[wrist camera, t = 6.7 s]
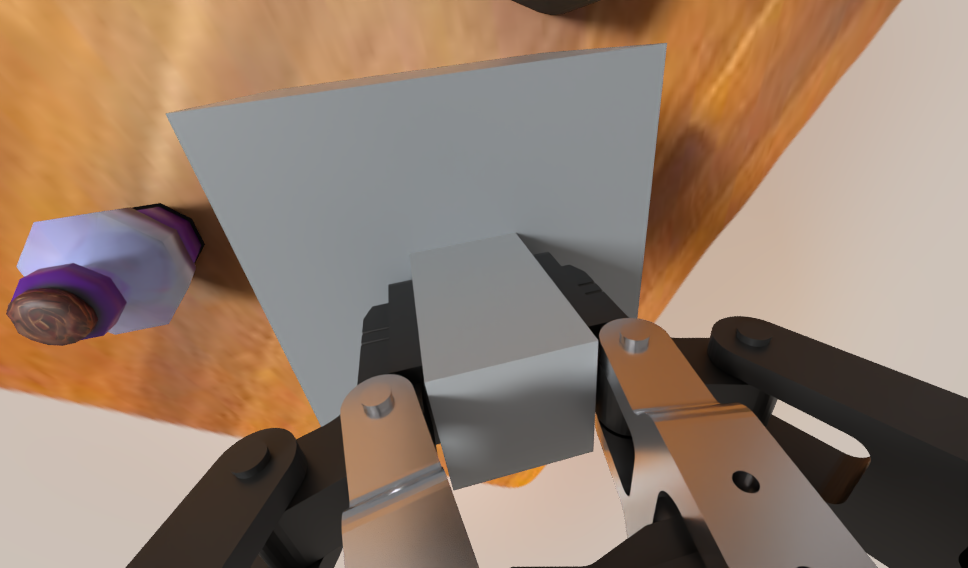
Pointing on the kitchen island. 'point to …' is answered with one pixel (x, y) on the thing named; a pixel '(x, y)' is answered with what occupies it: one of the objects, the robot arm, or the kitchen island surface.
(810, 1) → the kitchen island surface
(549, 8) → the sushi
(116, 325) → the potion bottle
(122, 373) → the kitchen island surface
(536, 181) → the grey block
